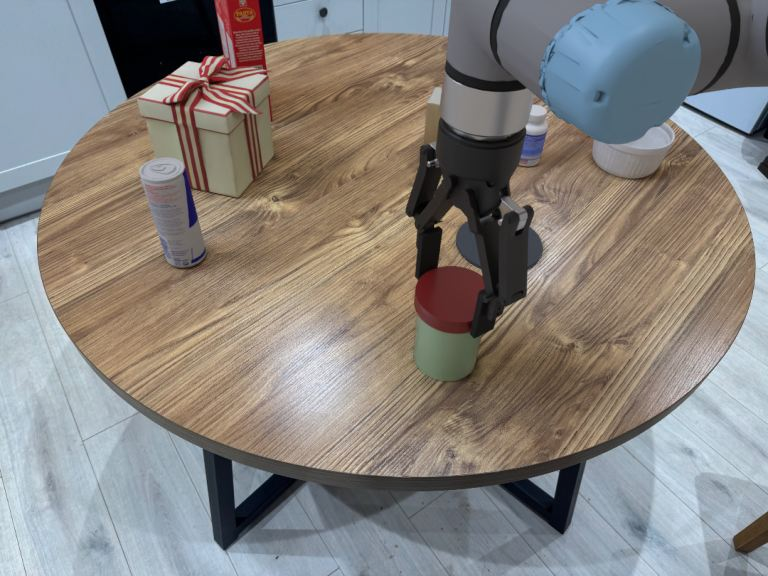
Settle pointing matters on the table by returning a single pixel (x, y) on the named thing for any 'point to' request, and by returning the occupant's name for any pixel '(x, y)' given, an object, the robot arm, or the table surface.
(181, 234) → the beverage can
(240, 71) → the gift box
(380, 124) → the table surface
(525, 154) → the pill bottle
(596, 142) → the ramekin
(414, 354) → the jar
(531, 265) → the coaster
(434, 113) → the cosmetic box
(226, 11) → the food packaging
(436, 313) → the lid
